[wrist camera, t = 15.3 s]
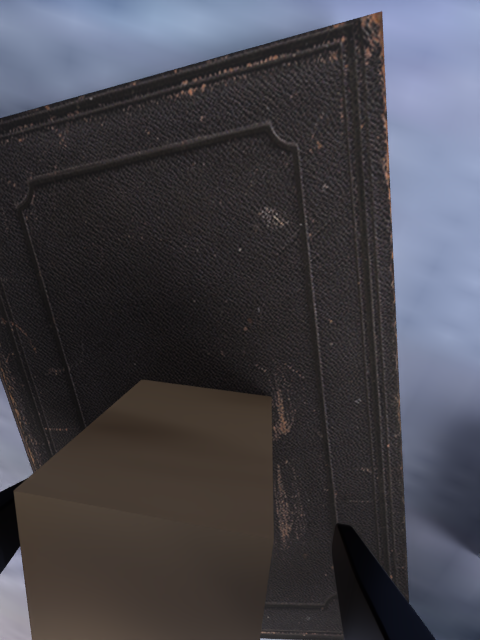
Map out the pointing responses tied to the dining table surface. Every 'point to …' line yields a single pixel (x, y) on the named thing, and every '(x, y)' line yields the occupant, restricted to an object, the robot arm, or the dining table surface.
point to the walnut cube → (153, 520)
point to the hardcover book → (223, 280)
